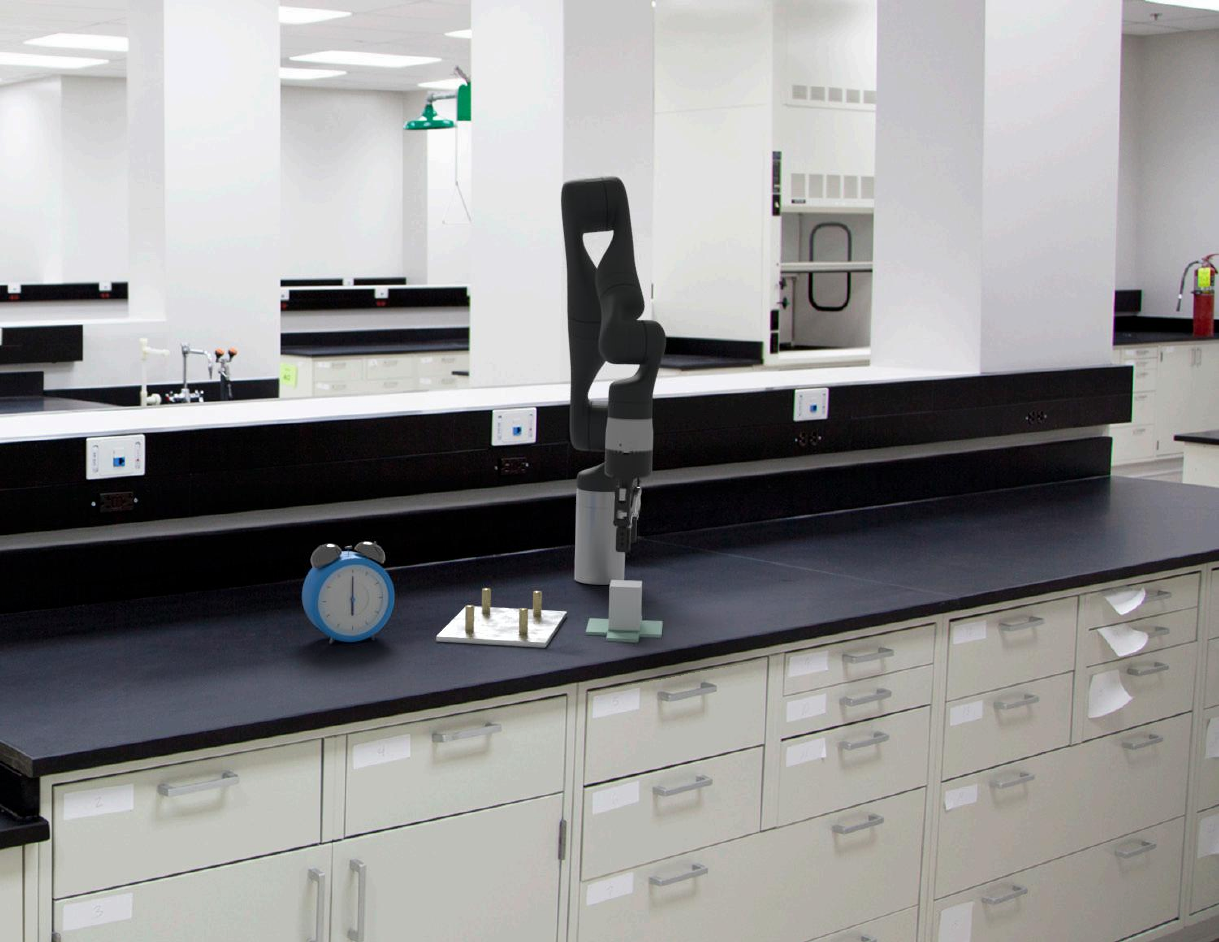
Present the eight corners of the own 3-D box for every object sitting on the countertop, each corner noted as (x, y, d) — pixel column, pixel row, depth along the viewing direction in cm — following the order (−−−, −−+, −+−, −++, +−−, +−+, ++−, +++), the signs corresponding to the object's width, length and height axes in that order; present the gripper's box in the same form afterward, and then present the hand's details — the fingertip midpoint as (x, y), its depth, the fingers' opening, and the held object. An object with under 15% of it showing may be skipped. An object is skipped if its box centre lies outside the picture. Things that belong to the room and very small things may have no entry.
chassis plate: (466, 610, 252) (466, 582, 251) (566, 616, 250) (567, 587, 249) (436, 641, 231) (436, 610, 230) (545, 647, 229) (546, 616, 228)
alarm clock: (311, 647, 226) (311, 549, 224) (300, 637, 231) (300, 541, 229) (395, 639, 231) (395, 544, 229) (383, 630, 237) (383, 537, 235)
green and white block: (590, 618, 250) (592, 572, 249) (663, 620, 250) (664, 574, 249) (583, 641, 234) (585, 593, 233) (660, 645, 234) (662, 595, 233)
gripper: (611, 440, 245) (608, 538, 248) (599, 450, 231) (596, 554, 233) (657, 442, 245) (653, 541, 247) (647, 452, 230) (644, 556, 233)
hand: (625, 547), depth 240 cm, fingers open, 8 cm apart
